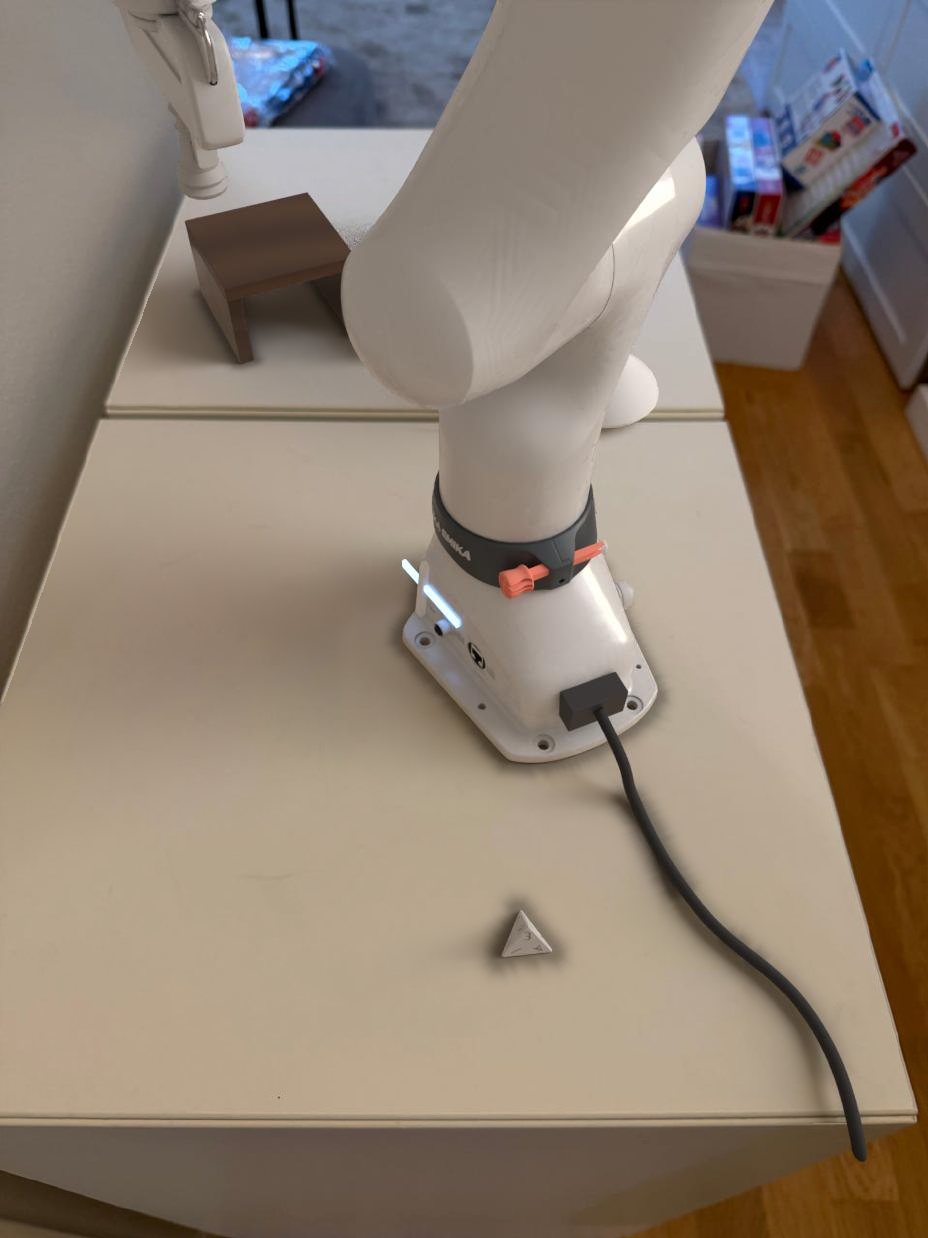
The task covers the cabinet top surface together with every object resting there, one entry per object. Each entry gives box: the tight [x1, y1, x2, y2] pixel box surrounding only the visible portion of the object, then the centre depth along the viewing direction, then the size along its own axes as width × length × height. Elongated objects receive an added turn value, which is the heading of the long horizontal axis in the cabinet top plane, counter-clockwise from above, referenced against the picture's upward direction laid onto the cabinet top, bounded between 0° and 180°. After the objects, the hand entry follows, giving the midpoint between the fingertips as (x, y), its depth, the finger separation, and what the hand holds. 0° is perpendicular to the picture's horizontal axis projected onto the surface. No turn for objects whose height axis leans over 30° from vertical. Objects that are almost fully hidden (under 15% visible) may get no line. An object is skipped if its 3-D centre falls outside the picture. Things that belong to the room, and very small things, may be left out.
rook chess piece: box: [167, 102, 230, 201], centre depth 78 cm, size 4×4×8 cm
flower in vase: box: [601, 353, 659, 429], centre depth 86 cm, size 13×11×25 cm
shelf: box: [184, 191, 352, 365], centre depth 100 cm, size 14×14×9 cm
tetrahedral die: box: [501, 909, 553, 958], centre depth 61 cm, size 4×3×3 cm
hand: (199, 152), depth 79 cm, fingers closed on rook chess piece, 3 cm apart
